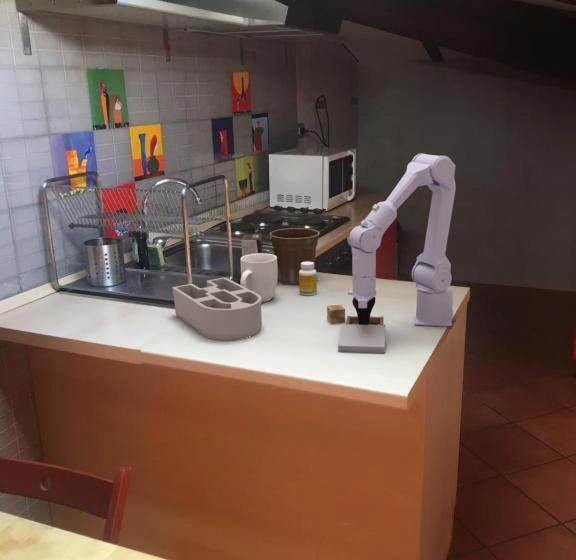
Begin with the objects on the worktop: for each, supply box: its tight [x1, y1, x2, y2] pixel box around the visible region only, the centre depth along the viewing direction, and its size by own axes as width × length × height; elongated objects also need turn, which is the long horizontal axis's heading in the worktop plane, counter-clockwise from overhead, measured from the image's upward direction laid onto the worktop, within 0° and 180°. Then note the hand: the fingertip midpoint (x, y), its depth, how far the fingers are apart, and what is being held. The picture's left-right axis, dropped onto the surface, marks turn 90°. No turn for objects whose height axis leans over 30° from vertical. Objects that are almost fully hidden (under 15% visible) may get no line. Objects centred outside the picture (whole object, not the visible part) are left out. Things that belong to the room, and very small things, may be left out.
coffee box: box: [240, 233, 264, 257], centre depth 206 cm, size 9×6×16 cm
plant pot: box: [269, 227, 321, 286], centre depth 209 cm, size 16×16×16 cm
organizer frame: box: [345, 315, 385, 325], centre depth 164 cm, size 10×14×2 cm
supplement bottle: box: [298, 262, 318, 296], centre depth 196 cm, size 5×5×10 cm
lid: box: [337, 323, 386, 354], centre depth 155 cm, size 11×8×2 cm
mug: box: [239, 252, 278, 303], centre depth 190 cm, size 15×11×13 cm
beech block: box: [326, 304, 346, 325], centre depth 172 cm, size 4×4×4 cm
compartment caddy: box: [171, 276, 263, 341], centre depth 173 cm, size 17×28×9 cm, turn 32°
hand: (364, 325), depth 161 cm, fingers closed
